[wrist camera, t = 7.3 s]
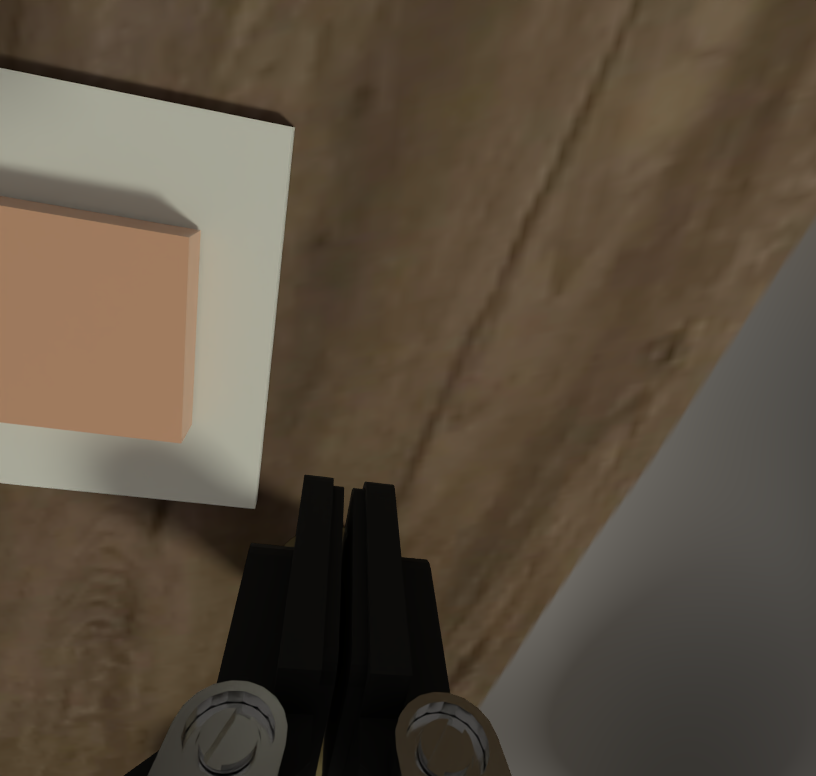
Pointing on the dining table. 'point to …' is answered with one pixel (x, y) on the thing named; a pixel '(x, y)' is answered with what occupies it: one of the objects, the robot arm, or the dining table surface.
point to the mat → (218, 272)
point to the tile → (96, 321)
